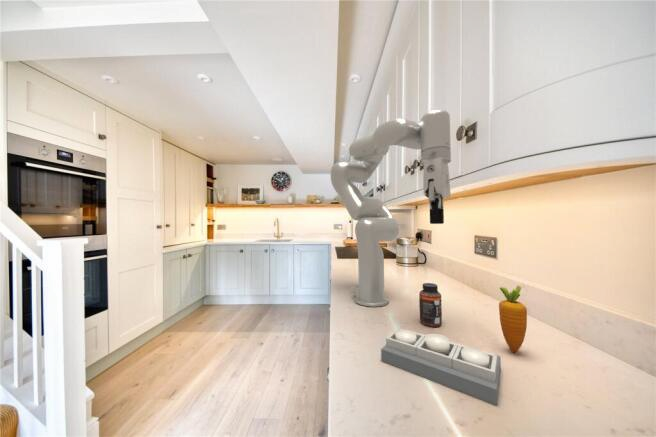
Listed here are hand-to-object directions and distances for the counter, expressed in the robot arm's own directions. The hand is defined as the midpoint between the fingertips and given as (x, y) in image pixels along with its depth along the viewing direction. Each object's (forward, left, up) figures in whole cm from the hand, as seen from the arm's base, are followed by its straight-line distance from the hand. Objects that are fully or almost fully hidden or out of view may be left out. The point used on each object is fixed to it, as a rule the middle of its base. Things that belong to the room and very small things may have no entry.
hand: (436, 223), depth 65 cm
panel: (+4, -17, -29) cm, 34 cm away
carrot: (+16, -2, -29) cm, 33 cm away
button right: (+11, -18, -26) cm, 34 cm away
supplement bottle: (-3, +3, -29) cm, 30 cm away
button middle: (+4, -18, -25) cm, 31 cm away
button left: (-2, -18, -26) cm, 32 cm away
